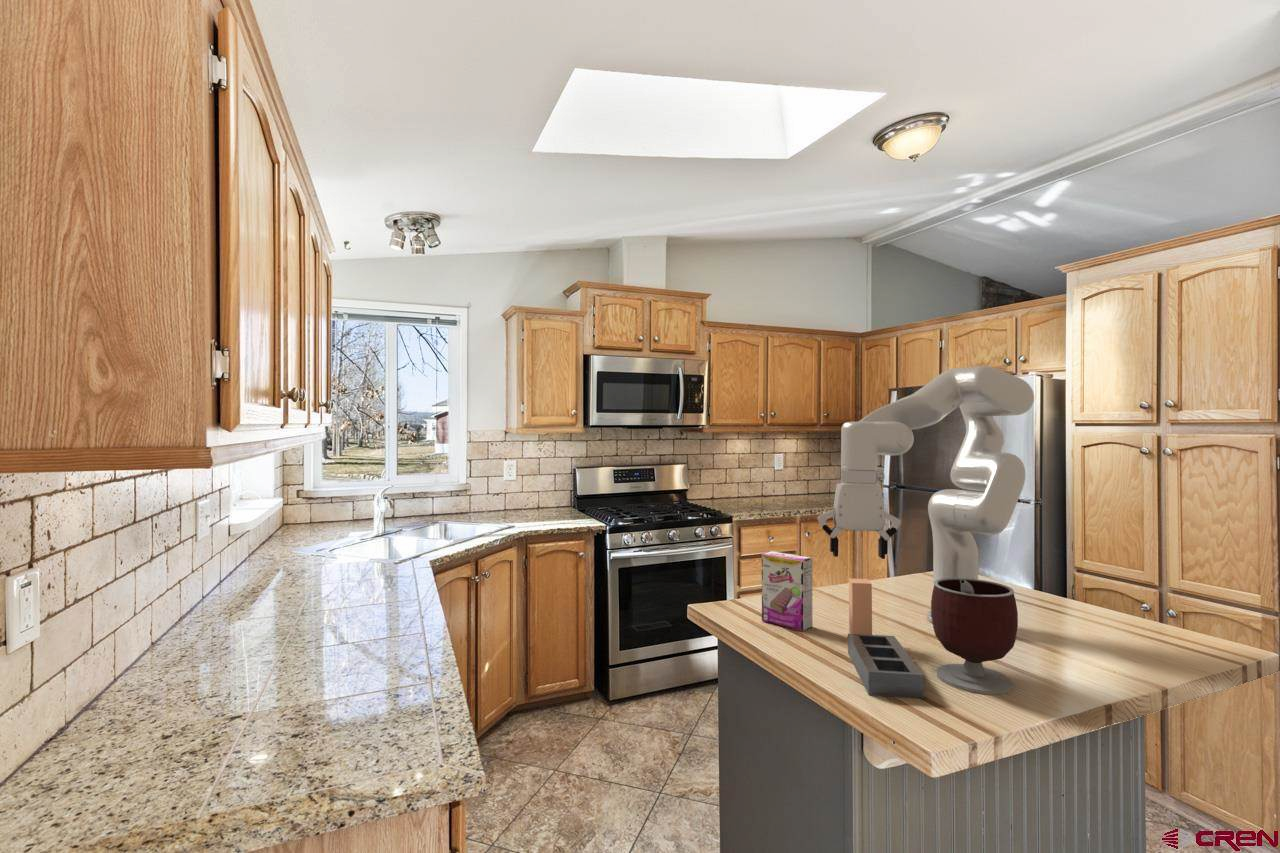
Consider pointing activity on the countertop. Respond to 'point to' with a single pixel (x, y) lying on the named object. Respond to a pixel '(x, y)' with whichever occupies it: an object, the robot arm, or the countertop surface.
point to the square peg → (860, 606)
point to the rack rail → (885, 666)
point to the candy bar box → (787, 590)
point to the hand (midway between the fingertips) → (858, 556)
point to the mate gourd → (974, 631)
